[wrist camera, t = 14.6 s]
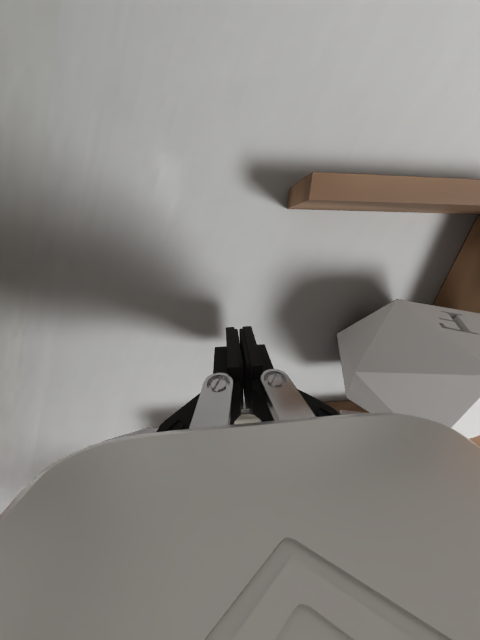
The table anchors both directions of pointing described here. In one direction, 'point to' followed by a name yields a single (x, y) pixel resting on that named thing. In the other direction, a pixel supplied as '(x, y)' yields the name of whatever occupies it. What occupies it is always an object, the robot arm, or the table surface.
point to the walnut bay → (404, 196)
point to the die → (415, 363)
